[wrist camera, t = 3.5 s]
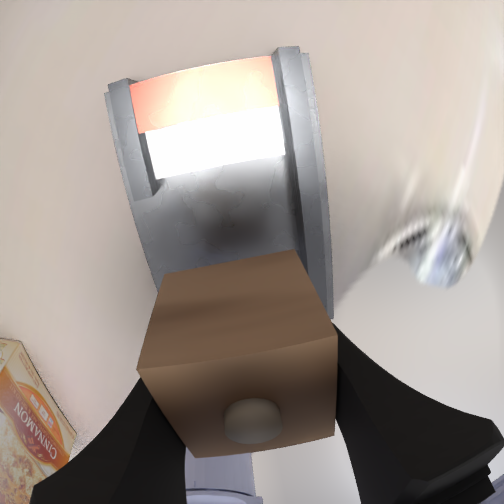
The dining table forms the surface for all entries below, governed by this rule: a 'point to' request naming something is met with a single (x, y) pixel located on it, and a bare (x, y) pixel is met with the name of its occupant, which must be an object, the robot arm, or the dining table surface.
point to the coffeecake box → (27, 427)
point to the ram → (209, 116)
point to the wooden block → (242, 356)
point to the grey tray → (234, 190)
